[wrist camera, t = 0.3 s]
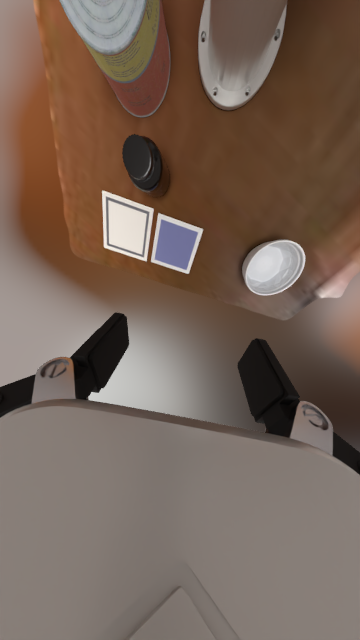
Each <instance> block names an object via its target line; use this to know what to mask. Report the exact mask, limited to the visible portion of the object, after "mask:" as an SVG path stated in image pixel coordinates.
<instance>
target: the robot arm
mask: <svg viewBox="0 0 360 640" xmlns="http://www.w3.org/2000/svg"><path fill="white" fill-rule="evenodd" d="M287 1H288V0H205V1H204V6H203V10H202V14H201V20H200V27H199V36H198V63H199V72H200V77H201V81H202V85H203V87H204V90H205V92H206V94H207V96H208V98H209V99H210V101H211V102H212V103H213V104H214V105H215V106H217V107H218V108H220V109H223V110H234V109H237V108H239V107H242V106H243V105H244V104H246V103H247V102H248V101H250V99H251V98H252V97H253V96H254V95H255V94H256V93H257V92H258V90H259V89H260V87H261V86H262V85H263V83H264V81H265V79H266V77H267V75H268V74H269V71H270V69H271V67H272V65H273V63H274V60H275V57H276V55H277V52H278V49H279V46H280V42H281V39H282V35H283V30H284V24H285V18H286V8H287ZM274 39H276V41H275V40H274ZM202 41H205V42H202ZM246 93H247V94H248V96H246V95H245V94H246ZM214 94H216V96H214ZM128 345H129V337H128V326H127V317H126V316H124V314H121V313H114V314H113V315H112V316H111V317H110V318H109V319H108V320H107V321H106V322H105V323H104V324H103V325H102V326H101V327H100V328H99V329H98V330H97V331H96V332H95V333H94V334H93V335H92V336H91V337H90V338H89V339H88V340H87V341H86V342H85V343H84V344H83V345H82V346H81V347H80V348H79V349H78V350H77V351H76V352H75V353H74V354H73V355H72V356H71V357H70V358H68V357H58V358H54V359H52V360H49V361H48V362H46V363H44V364H43V365H42V366H41V367H40V368H39V369H38V370H37V373H36V375H32V376H30V377H27V378H24V379H21V380H18V381H16V382H13V383H10V384H7V385H5V386H2V387H0V640H360V452H358V451H357V450H356V449H355V448H353V447H352V446H351V445H349V444H348V443H347V442H346V441H344V440H343V439H342V438H341V437H339V436H338V435H337V434H336V433H334V432H333V428H332V424H331V422H330V420H329V419H328V418H327V416H326V415H325V414H324V413H323V412H322V411H321V410H320V409H318V408H317V407H316V406H315V405H313V404H311V403H308V402H306V401H301V402H300V401H299V399H298V398H299V397H300V396H299V395H298V393H297V391H296V390H295V388H294V386H293V385H292V383H291V381H290V380H289V378H288V376H287V375H286V373H285V372H284V370H283V368H282V366H281V365H280V363H279V361H278V360H277V358H276V357H275V355H274V353H273V352H272V350H271V348H270V347H269V345H268V344H267V342H266V341H265V340H263V339H255V340H252V342H251V343H250V345H249V346H248V348H247V350H246V351H245V353H244V354H243V356H242V358H241V359H240V361H239V362H238V370H239V373H240V377H241V380H242V384H243V387H244V390H245V394H246V397H247V401H248V404H249V407H250V411H251V414H252V416H254V418H255V421H256V422H257V423H263V424H264V423H265V426H266V430H265V433H264V432H259V431H254V430H248V429H244V428H239V427H233V426H228V425H223V424H218V423H213V422H207V421H201V420H196V419H191V418H186V417H180V416H175V415H170V414H164V413H159V412H153V411H148V410H142V409H136V408H131V407H126V406H120V405H114V404H108V403H102V402H95V401H90V400H88V396H89V395H90V394H91V392H97V393H99V391H100V390H101V388H104V387H105V385H106V384H107V382H108V380H109V379H110V377H111V375H112V373H113V372H114V370H115V368H116V367H117V365H118V363H119V362H120V360H121V358H122V356H123V355H124V353H125V351H126V350H127V348H128Z"/></svg>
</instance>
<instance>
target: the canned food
mask: <svg viewBox="0 0 360 640" xmlns="http://www.w3.org/2000/svg"><path fill="white" fill-rule="evenodd" d="M60 2H61V5H62V7H63V9H64V11H65V13H66V15H67V17H68V19H69V20H70V22H71V24H72V25H73V27H74V28H75V30H76V31H77V33H78V34H79V35H80V37H81V38H82V40H83V41H84V43H85V45H86V46H87V48H88V50H89V51H90V53H91V55H92V56H93V58H94V59H95V61H96V63H97V64H98V66H99V68H100V69H101V71H102V73H103V74H104V76H105V77H106V79H107V81H108V82H109V84H110V86H111V87H112V89H113V90H114V92H115V94H116V96H117V98H118V100H119V101H120V103H121V104H122V106H123V107H124V108H125V109H126V110H127V111H128V112H129V113H130V114H132V115H134V116H136V117H141V118H143V117H148V116H150V115H152V114H153V113H154V112H155V111H156V110H157V109H158V108H159V106H160V105H161V103H162V101H163V99H164V97H165V94H166V91H167V87H168V83H169V77H170V47H169V40H168V35H167V31H166V25H165V19H164V12H163V6H162V0H60Z"/></svg>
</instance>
